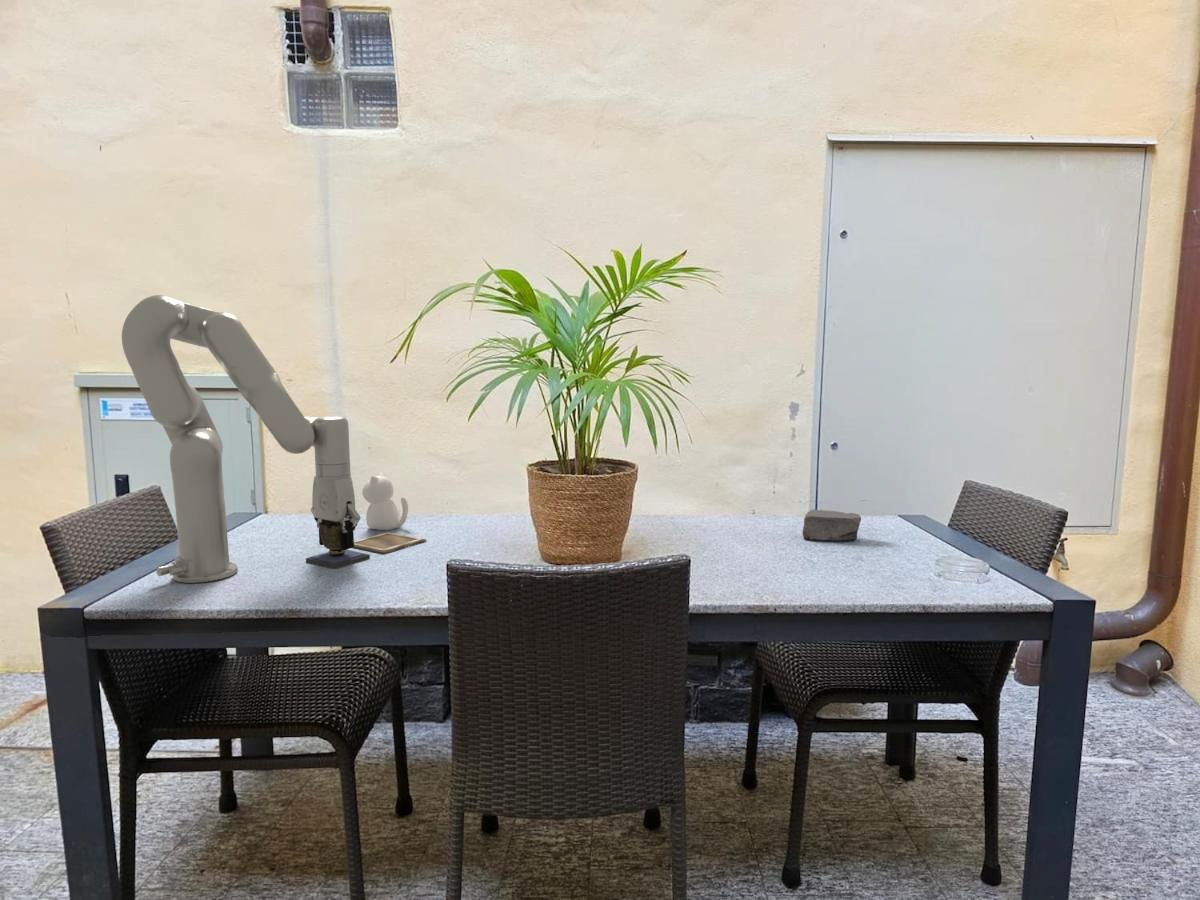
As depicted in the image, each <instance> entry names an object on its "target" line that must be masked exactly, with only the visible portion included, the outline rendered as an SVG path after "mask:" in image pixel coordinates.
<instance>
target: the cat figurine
mask: <svg viewBox="0 0 1200 900" xmlns="http://www.w3.org/2000/svg"><path fill="white" fill-rule="evenodd" d="M393 495H394V487H393V484H392V482H391V480H390V478H388V477H387V476H385V474H384V473H383V472H382V471H380V472H379V475H370V478H369V479H368V480H367V481H366V482H365V484H364V485H363V488H362V496H363V499H365V500H366V502H368V503H370V504H369V506H368V507H367V511H366V515H365V517H366V519H365V520H366V526H367V527H368V528H369V529H370V530H374V529H377V531H392V530H394V529H397V528H400V527H402V526H403V525H404V524H405V522H406V521H407V518H408V515H409V514H408V513H409V503H408V500H407V499H406V497H404V496H401V498H400V503H401V506H402V508H401V509H402V513H401V511H400V509H399V507H398V505H397V503H395V501H394V500H393V499H392V498H393ZM391 529H392V530H391Z"/></svg>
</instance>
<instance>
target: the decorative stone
mask: <svg viewBox="0 0 1200 900" xmlns="http://www.w3.org/2000/svg"><path fill="white" fill-rule="evenodd" d="M861 521H862V516H861V515H860V514H858V513H853V512H847V513H846V512H844V511H836V510H824V509H823V510H822V509H810V511H809V510H808V511H807V513H806V514H805V516H804V518H803V528H802V537H803V539H804V540H806V541H812V542H821V543H822V542H823V543H825V542H826V543H845V542H846V543H847V542H855V541H856V540H857V538H858V531H859V529H860V528H859V527H860V525H861Z"/></svg>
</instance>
